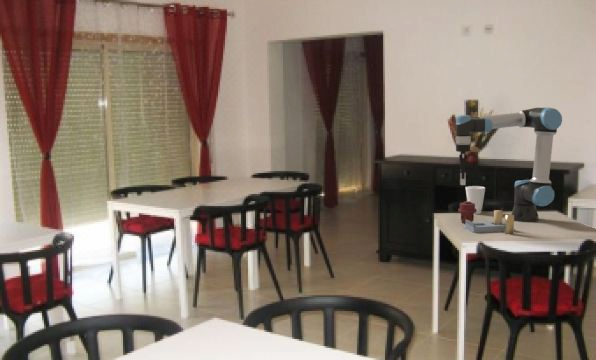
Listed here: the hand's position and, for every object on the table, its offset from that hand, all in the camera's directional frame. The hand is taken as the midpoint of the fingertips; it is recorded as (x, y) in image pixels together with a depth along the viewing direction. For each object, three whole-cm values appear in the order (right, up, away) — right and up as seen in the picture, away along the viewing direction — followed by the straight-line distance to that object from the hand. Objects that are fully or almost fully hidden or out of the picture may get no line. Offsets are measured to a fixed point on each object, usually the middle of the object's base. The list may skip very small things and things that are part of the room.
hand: (462, 183), depth 339 cm
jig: (+14, -25, -1) cm, 29 cm away
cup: (+20, -19, +48) cm, 55 cm away
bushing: (+21, -26, -12) cm, 36 cm away
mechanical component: (+7, -23, +18) cm, 30 cm away
